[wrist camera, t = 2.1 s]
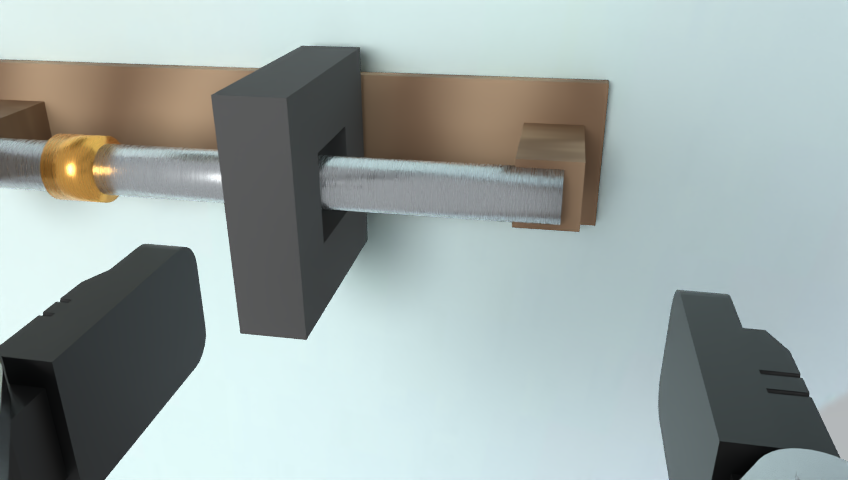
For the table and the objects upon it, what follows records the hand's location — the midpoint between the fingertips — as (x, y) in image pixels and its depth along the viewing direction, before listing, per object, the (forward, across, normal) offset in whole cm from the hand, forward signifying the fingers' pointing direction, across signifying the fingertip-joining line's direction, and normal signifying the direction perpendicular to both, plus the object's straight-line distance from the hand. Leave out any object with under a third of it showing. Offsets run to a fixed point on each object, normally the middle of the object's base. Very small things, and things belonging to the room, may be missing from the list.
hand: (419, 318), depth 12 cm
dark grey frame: (+19, +7, +3) cm, 21 cm away
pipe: (+16, +10, +4) cm, 19 cm away
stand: (+20, +10, +4) cm, 23 cm away
